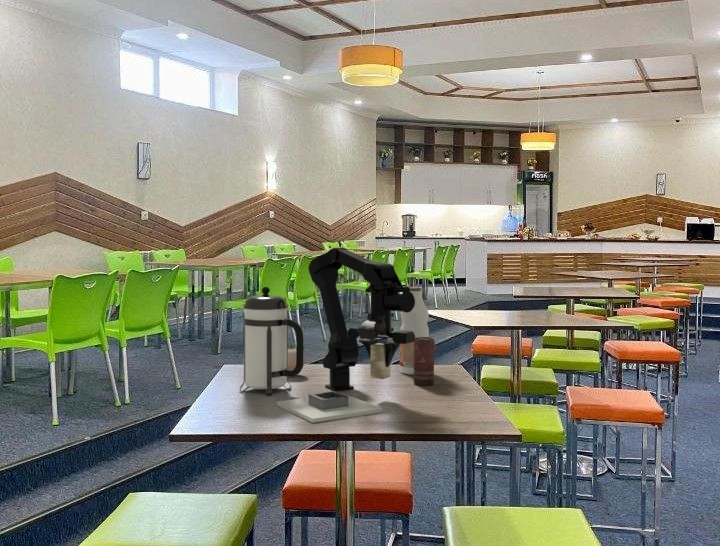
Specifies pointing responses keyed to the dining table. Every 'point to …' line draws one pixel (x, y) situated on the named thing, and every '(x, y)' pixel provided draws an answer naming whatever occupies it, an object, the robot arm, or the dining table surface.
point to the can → (424, 361)
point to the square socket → (328, 400)
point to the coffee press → (268, 343)
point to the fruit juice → (418, 325)
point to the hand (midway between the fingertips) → (380, 366)
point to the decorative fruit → (293, 358)
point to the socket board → (319, 415)
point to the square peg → (379, 362)
